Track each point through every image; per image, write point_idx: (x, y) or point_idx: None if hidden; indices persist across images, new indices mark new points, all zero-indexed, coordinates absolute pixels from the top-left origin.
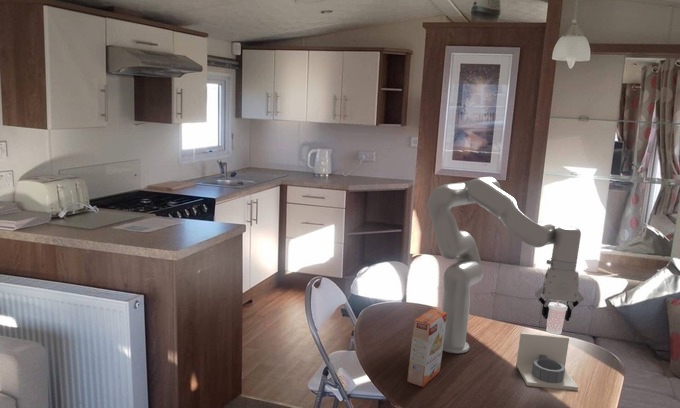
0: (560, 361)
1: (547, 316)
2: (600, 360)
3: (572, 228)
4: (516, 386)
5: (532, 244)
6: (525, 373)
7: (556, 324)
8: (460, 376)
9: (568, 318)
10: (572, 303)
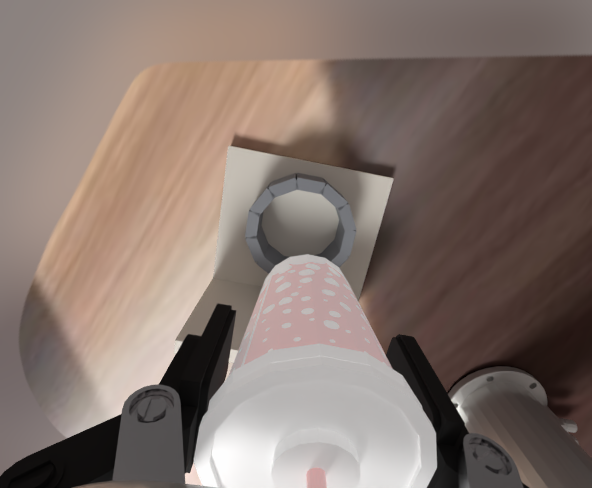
0: (224, 290)
1: (405, 348)
2: (66, 342)
3: None
4: (429, 171)
5: None
6: (367, 237)
7: (328, 283)
8: (576, 232)
9: (219, 314)
10: (117, 467)
